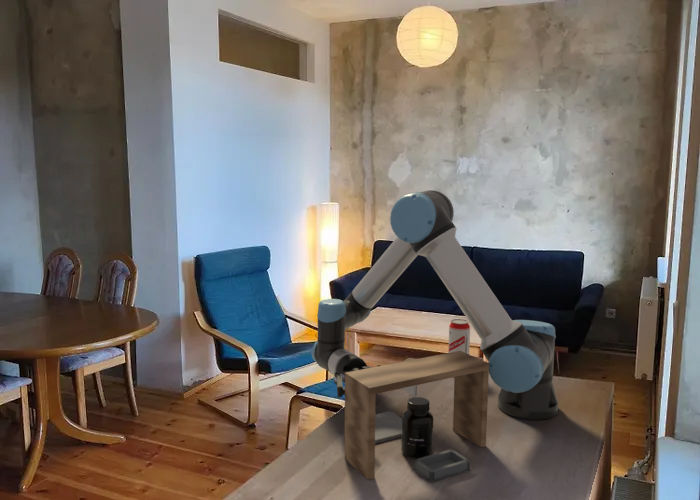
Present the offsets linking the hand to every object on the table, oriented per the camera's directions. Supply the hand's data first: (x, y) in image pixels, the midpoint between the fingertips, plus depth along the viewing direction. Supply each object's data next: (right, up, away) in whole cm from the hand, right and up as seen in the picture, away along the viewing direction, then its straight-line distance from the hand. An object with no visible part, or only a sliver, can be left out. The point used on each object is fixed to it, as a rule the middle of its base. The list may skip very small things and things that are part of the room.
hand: (392, 395), depth 145 cm
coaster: (-2, -9, +5) cm, 10 cm away
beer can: (+23, -3, +43) cm, 49 cm away
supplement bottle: (+5, -11, -7) cm, 14 cm away
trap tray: (+9, -12, -15) cm, 21 cm away
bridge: (+5, -11, -7) cm, 14 cm away
